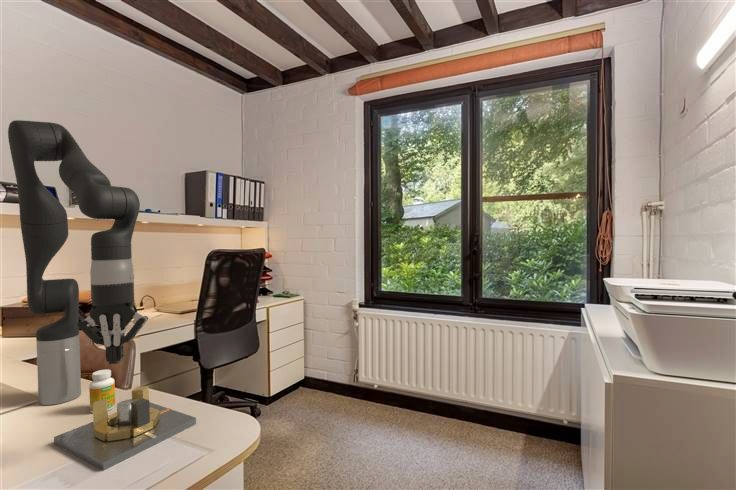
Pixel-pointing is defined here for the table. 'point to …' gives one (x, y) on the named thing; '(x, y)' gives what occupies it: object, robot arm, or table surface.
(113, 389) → the supplement bottle
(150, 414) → the gold octagonal ring
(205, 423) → the table surface
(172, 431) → the base plate
